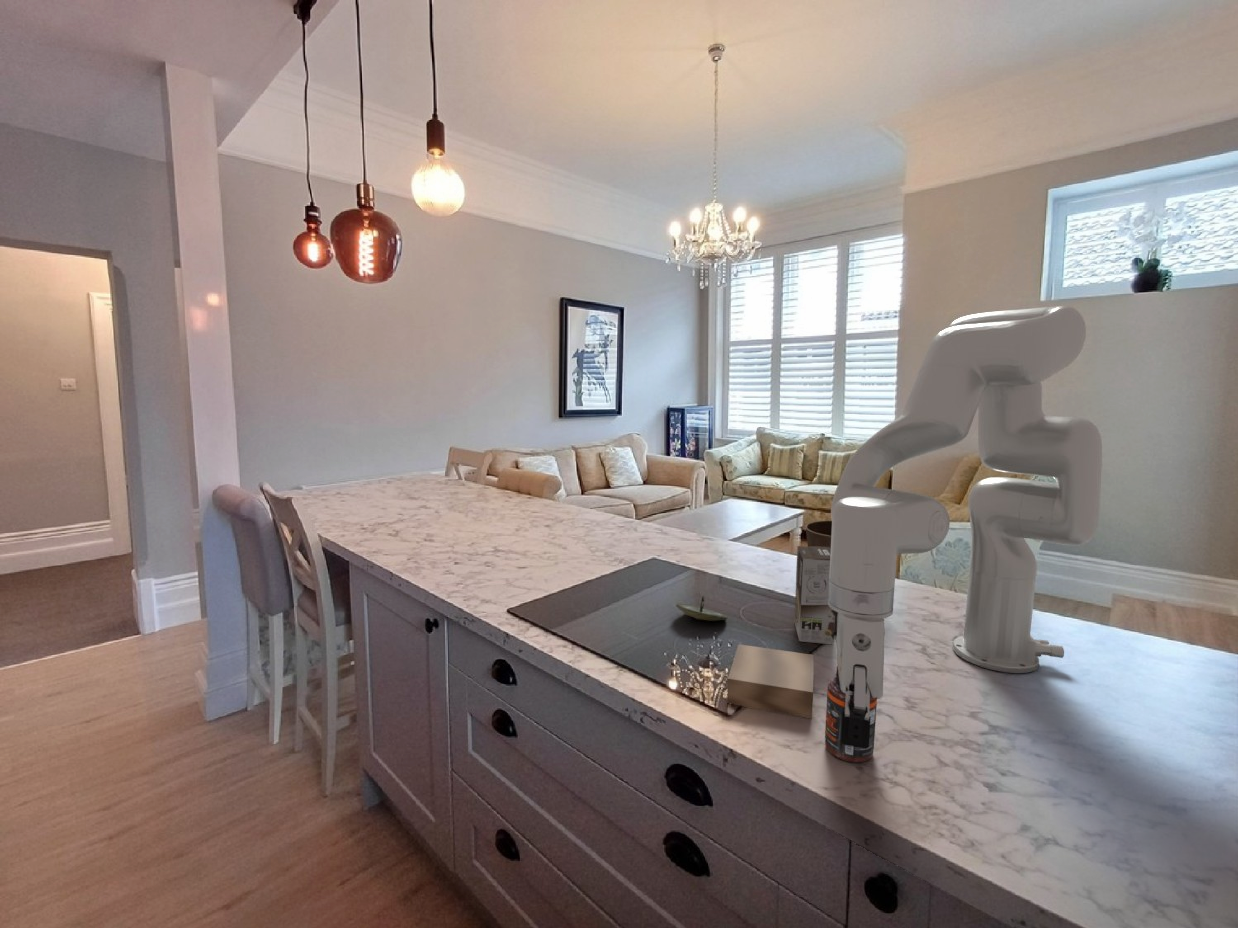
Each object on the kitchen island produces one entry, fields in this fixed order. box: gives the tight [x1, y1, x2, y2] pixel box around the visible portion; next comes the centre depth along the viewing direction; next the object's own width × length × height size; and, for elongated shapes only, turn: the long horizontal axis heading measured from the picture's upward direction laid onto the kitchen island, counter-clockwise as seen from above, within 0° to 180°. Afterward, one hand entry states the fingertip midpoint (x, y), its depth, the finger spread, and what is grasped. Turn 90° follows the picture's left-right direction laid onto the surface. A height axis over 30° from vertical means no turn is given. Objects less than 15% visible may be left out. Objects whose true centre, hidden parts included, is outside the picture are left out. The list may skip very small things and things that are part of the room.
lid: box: [675, 595, 728, 622], centre depth 115 cm, size 11×10×5 cm
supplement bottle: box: [824, 664, 878, 764], centre depth 74 cm, size 6×6×11 cm
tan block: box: [726, 644, 814, 719], centre depth 89 cm, size 12×12×4 cm
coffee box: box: [794, 545, 836, 645], centre depth 109 cm, size 9×6×16 cm
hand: (853, 728), depth 74 cm, fingers closed on supplement bottle, 5 cm apart
